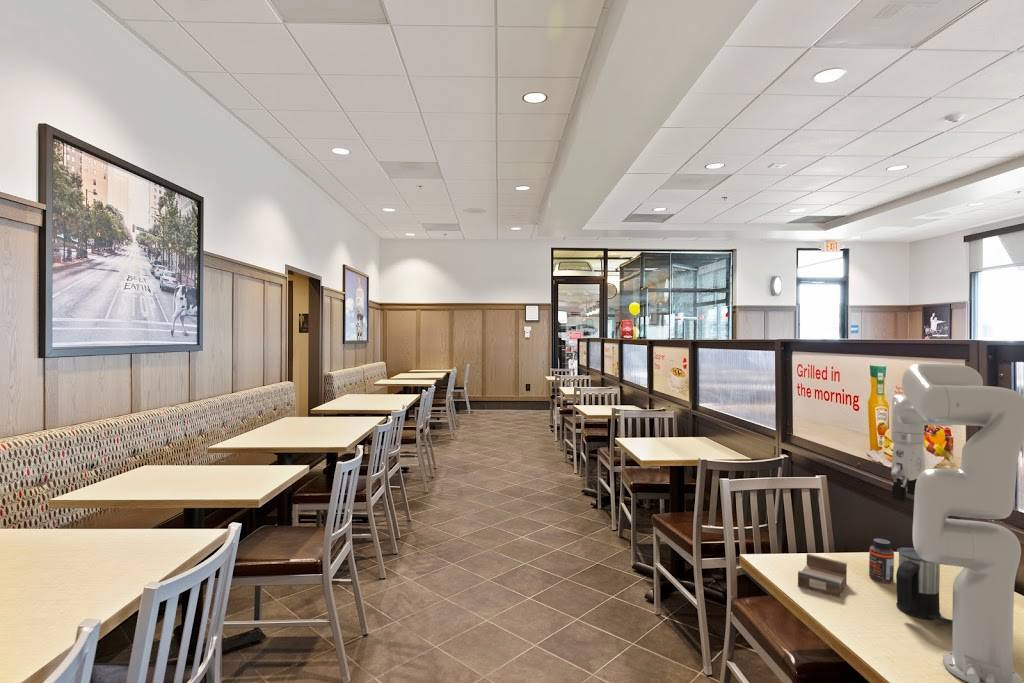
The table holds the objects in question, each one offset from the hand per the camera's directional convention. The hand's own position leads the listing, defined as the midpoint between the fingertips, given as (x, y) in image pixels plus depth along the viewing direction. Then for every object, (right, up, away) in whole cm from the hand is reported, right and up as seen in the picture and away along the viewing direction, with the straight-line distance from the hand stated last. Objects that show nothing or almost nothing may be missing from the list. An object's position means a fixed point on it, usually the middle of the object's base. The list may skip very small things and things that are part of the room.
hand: (906, 497), depth 153 cm
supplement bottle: (-6, -25, +2) cm, 26 cm away
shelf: (-25, -25, -2) cm, 35 cm away
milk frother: (-8, -25, -20) cm, 33 cm away
